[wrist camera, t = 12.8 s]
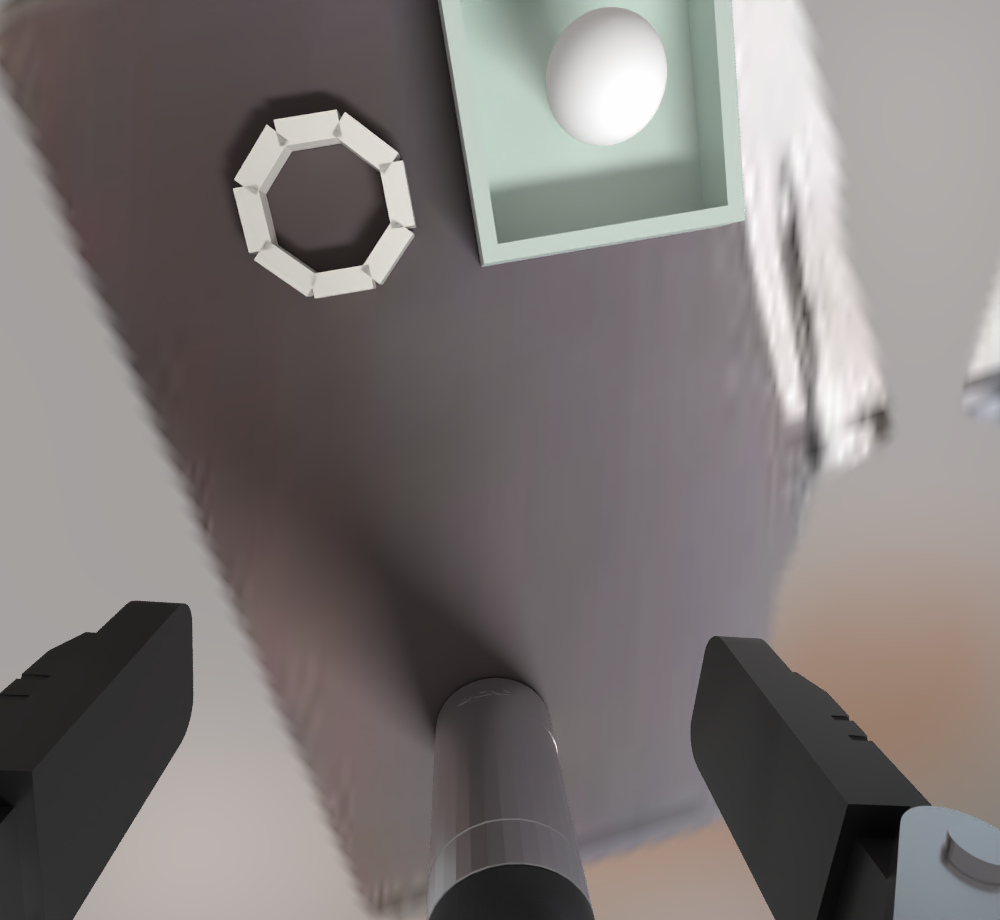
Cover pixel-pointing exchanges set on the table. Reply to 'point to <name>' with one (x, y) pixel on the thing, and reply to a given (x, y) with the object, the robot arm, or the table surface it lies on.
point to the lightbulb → (606, 76)
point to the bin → (583, 167)
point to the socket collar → (267, 166)
